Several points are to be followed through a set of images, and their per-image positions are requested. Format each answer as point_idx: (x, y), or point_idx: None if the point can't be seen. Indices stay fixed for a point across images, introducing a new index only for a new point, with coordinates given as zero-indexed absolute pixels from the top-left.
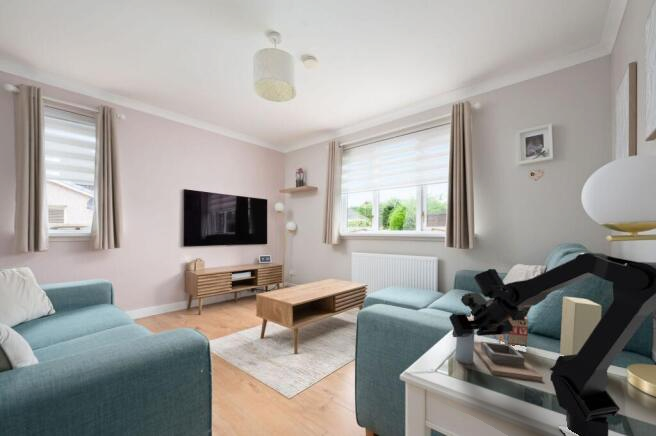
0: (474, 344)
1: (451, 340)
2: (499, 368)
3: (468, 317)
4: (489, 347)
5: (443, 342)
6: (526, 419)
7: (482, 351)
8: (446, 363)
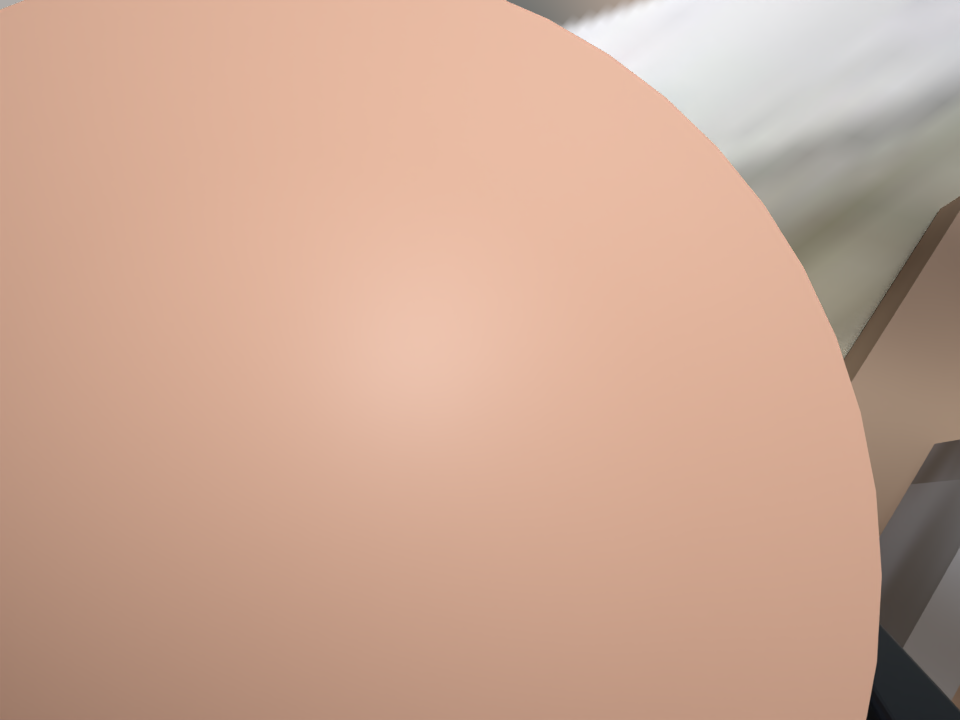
0: (956, 300)
1: (778, 26)
2: None
3: (780, 323)
4: (948, 690)
5: (598, 29)
6: None
7: None
8: None
